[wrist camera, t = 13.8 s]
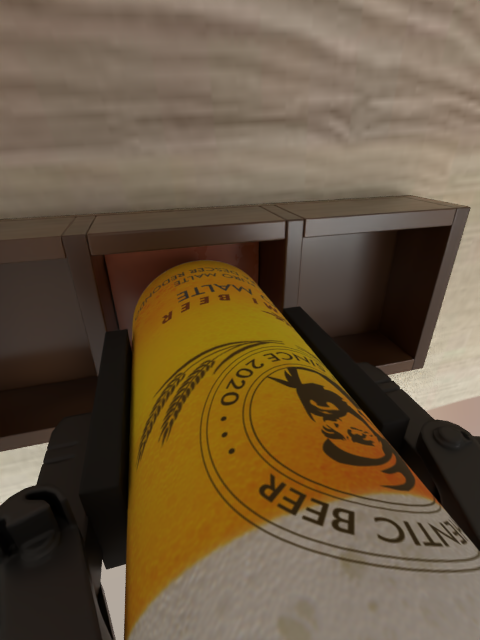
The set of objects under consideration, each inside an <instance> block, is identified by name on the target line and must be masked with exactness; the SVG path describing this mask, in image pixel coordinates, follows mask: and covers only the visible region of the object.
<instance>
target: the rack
mask: <svg viewBox="0 0 480 640" xmlns="http://www.w3.org/2000/svg"><path fill="white" fill-rule="evenodd" d="M469 211H470V207H468V206H463V205H458V204H453V203H448V202H442V201H437V200H432V199H427V198H422V197H416V196H411V195H408V196H391V197H374V198H357V199H340V200H323V201H305V202H288V203H271V204H254V205H237V206H220V207H203V208H186V209H169V210H152V211H134V212H117V213H100V214H83V215H66V216H49V217H32V218H15V219H0V452H1V451H6V450H11V449H16V448H22V447H27V446H32V445H37V444H42V443H47V442H49V440H50V437H51V433H52V431H53V430H54V429H55V427H56V426H57V425H58V424H59V422H60V421H61V420H62V419H63V417H67V416H73V415H78V414H84V413H89V412H92V410H93V404H94V398H95V392H96V386H97V380H98V374H99V368H100V362H101V356H102V350H103V344H104V338H105V332H109V331H116V330H124V329H128V335H129V340H130V345H131V350H132V327H133V315H134V311H135V308H136V305H137V303H138V300H139V298H140V297H141V295H142V293H143V292H144V290H145V289H146V288H147V287H148V285H149V284H150V283H151V282H152V281H153V280H154V279H156V278H157V277H158V276H159V275H161V274H162V273H164V272H165V271H167V270H169V269H171V268H173V267H175V266H177V265H180V264H183V263H187V262H191V261H199V260H212V261H219V262H223V263H227V264H230V265H232V266H235V267H237V268H239V269H240V270H242V271H243V272H245V273H246V274H247V275H249V276H250V277H251V278H252V279H253V280H254V282H255V283H256V284H257V285H258V286H259V287H260V289H261V290H262V291H263V292H264V293H265V295H266V296H267V297H268V298H269V299H270V301H271V302H272V303H273V304H274V305H275V307H276V308H277V309H278V310H279V311H280V313H281V314H283V308H291V307H298V306H300V307H301V308H302V309H303V310H304V311H305V312H306V313H307V314H308V315H309V316H310V317H311V318H312V319H313V320H314V321H315V322H316V323H317V324H318V325H319V326H320V327H321V328H322V329H323V330H324V331H325V332H326V333H327V334H328V335H329V336H330V337H331V338H332V339H333V340H334V341H335V342H336V343H337V344H338V345H339V346H340V347H341V348H342V349H343V350H344V351H345V352H346V353H347V354H348V355H349V356H350V357H351V358H352V359H353V361H354V362H355V363H361V362H368V363H370V364H372V365H374V366H376V367H378V368H379V369H381V370H382V371H383V372H384V373H385V374H386V375H390V374H395V373H400V372H405V371H410V370H415V369H420V368H423V366H424V362H425V359H426V356H427V352H428V349H429V346H430V342H431V339H432V336H433V332H434V329H435V325H436V322H437V319H438V315H439V312H440V309H441V305H442V302H443V299H444V295H445V292H446V288H447V285H448V282H449V278H450V275H451V272H452V268H453V265H454V262H455V258H456V255H457V251H458V248H459V245H460V241H461V238H462V235H463V231H464V228H465V224H466V221H467V218H468V214H469Z"/></svg>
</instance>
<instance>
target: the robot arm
mask: <svg viewBox="0 0 480 640" xmlns="http://www.w3.org/2000/svg"><path fill="white" fill-rule="evenodd" d="M282 315H283V316H284V317H285V319H286V320H287V321H288V322H289V323H290V325H291V326H292V327H293V328H294V329H295V331H296V332H297V333H298V334H299V335H300V337H301V338H302V339H303V340H304V341H305V343H306V344H307V345H308V346H309V347H310V349H311V350H312V351H313V352H314V353H315V355H316V356H317V357H318V358H319V359H320V361H321V362H322V363H323V364H324V365H325V367H326V368H327V369H328V370H329V371H330V373H331V374H332V375H333V376H334V377H335V379H336V380H337V381H338V382H339V383H340V385H341V386H342V387H343V388H344V389H345V391H346V392H347V393H348V394H349V395H350V397H351V398H352V399H353V400H354V401H355V403H356V404H357V405H358V406H359V407H360V409H361V410H362V411H363V412H364V413H365V415H366V416H367V417H368V418H369V419H370V421H371V422H372V423H373V424H374V425H375V427H376V428H377V429H378V430H379V431H380V433H381V434H382V435H383V436H384V437H385V439H386V440H387V441H388V442H389V443H390V445H391V446H392V447H393V448H394V449H395V451H396V452H397V453H398V454H399V455H400V457H401V458H402V459H403V460H404V461H405V463H406V464H407V465H408V466H409V467H410V469H411V470H412V471H413V472H414V473H415V475H416V476H417V477H418V478H419V479H420V481H421V482H422V483H423V484H424V485H425V487H426V488H427V489H428V490H429V491H430V492H431V494H432V495H433V496H434V497H435V498H436V500H437V501H438V502H439V503H440V504H441V506H442V507H443V508H444V509H445V510H446V512H447V513H448V514H449V515H450V516H451V518H452V519H453V520H454V521H455V522H456V524H457V525H458V526H459V527H460V528H461V530H462V531H463V532H464V533H465V534H466V536H467V537H468V538H469V539H470V540H471V542H472V543H473V544H474V545H475V546H476V548H477V549H478V550H479V551H480V437H479V436H472V435H471V434H470V433H469V432H468V431H466V430H465V429H463V428H462V427H460V426H459V425H456V424H453V423H451V422H448V421H442V420H434V419H433V418H432V417H431V416H430V415H429V414H428V413H427V412H426V411H425V410H424V409H423V408H422V407H420V406H419V405H418V404H417V403H416V402H415V401H414V400H413V399H412V398H411V397H410V396H409V395H408V394H407V393H406V392H404V391H403V390H402V389H400V387H399V386H398V385H397V384H396V383H395V382H394V381H391V378H390V377H388V376H387V375H386V374H385V373H384V372H383V371H382V370H381V369H379V368H378V367H376V366H374V365H372V364H370V363H368V362H361V363H355V362H354V361H353V359H352V358H351V357H350V356H349V355H348V354H347V353H346V352H345V351H344V350H343V349H342V348H341V347H340V346H339V345H338V344H337V343H336V342H335V341H334V340H333V339H332V338H331V337H330V336H329V335H328V334H327V333H326V332H325V331H324V330H323V329H322V328H321V327H320V326H319V325H318V324H317V323H316V322H315V321H314V320H313V319H312V318H311V317H310V316H309V315H308V314H307V313H306V312H305V311H304V310H303V309H302V308H301V307H300V306H298V307H291V308H283V314H282ZM131 364H132V350H131V345H130V340H129V335H128V329H124V330H116V331H109V332H105V338H104V344H103V350H102V356H101V362H100V368H99V374H98V380H97V386H96V392H95V398H94V404H93V410H92V412H89V413H84V414H78V415H73V416H67V417H63V419H62V420H61V421H60V422H59V424H58V425H57V426H56V427H55V429H54V430H53V431H52V433H51V437H50V440H49V444H48V447H47V449H48V450H47V451H46V454H45V457H44V461H43V462H44V464H43V465H42V467H41V471H40V474H39V478H38V481H37V484H36V485H35V486H32V487H28V488H25V489H23V490H22V491H20V492H18V493H16V494H15V495H13V496H11V497H10V498H8V499H7V500H6V501H5V502H4V503H3V504H2V505H1V506H0V640H116V639H115V635H114V631H113V627H112V623H111V618H110V614H109V610H108V606H107V602H106V598H105V593H104V590H103V587H102V585H101V582H100V579H101V566H102V560H103V562H104V565H105V567H106V569H110V568H113V567H117V566H120V565H124V564H126V549H127V512H128V475H129V438H130V401H131Z"/></svg>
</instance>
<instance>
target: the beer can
mask: <svg viewBox="0 0 480 640" xmlns="http://www.w3.org/2000/svg"><path fill="white" fill-rule="evenodd" d="M124 640H480V551H479V550H478V549H477V548H476V546H475V545H474V544H473V543H472V542H471V540H470V539H469V538H468V537H467V536H466V534H465V533H464V532H463V531H462V530H461V528H460V527H459V526H458V525H457V524H456V522H455V521H454V520H453V519H452V518H451V516H450V515H449V514H448V513H447V512H446V510H445V509H444V508H443V507H442V506H441V504H440V503H439V502H438V501H437V500H436V498H435V497H434V496H433V495H432V494H431V492H430V491H429V490H428V489H427V488H426V487H425V485H424V484H423V483H422V482H421V481H420V479H419V478H418V477H417V476H416V475H415V473H414V472H413V471H412V470H411V469H410V467H409V466H408V465H407V464H406V463H405V461H404V460H403V459H402V458H401V457H400V455H399V454H398V453H397V452H396V451H395V449H394V448H393V447H392V446H391V445H390V443H389V442H388V441H387V440H386V439H385V437H384V436H383V435H382V434H381V433H380V431H379V430H378V429H377V428H376V427H375V425H374V424H373V423H372V422H371V421H370V419H369V418H368V417H367V416H366V415H365V413H364V412H363V411H362V410H361V409H360V407H359V406H358V405H357V404H356V403H355V401H354V400H353V399H352V398H351V397H350V395H349V394H348V393H347V392H346V391H345V389H344V388H343V387H342V386H341V385H340V383H339V382H338V381H337V380H336V379H335V377H334V376H333V375H332V374H331V373H330V371H329V370H328V369H327V368H326V367H325V365H324V364H323V363H322V362H321V361H320V359H319V358H318V357H317V356H316V355H315V353H314V352H313V351H312V350H311V349H310V347H309V346H308V345H307V344H306V343H305V341H304V340H303V339H302V338H301V337H300V335H299V334H298V333H297V332H296V331H295V329H294V328H293V327H292V326H291V325H290V323H289V322H288V321H287V320H286V319H285V317H284V316H283V315H282V314H281V313H280V311H279V310H278V309H277V308H276V307H275V305H274V304H273V303H272V302H271V301H270V299H269V298H268V297H267V296H266V295H265V293H264V292H263V291H262V290H261V289H260V287H259V286H258V285H257V284H256V283H255V282H254V280H253V279H252V278H251V277H250V276H249V275H247V274H246V273H245V272H243V271H242V270H240V269H239V268H237V267H235V266H232V265H230V264H227V263H223V262H219V261H212V260H199V261H191V262H187V263H183V264H180V265H177V266H175V267H173V268H171V269H169V270H167V271H165V272H164V273H162V274H161V275H159V276H158V277H157V278H156V279H154V280H153V281H152V282H151V283H150V284H149V285H148V287H147V288H146V289H145V290H144V292H143V293H142V295H141V297H140V298H139V300H138V303H137V305H136V308H135V311H134V315H133V327H132V364H131V401H130V438H129V475H128V512H127V549H126V587H125V624H124Z"/></svg>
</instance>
